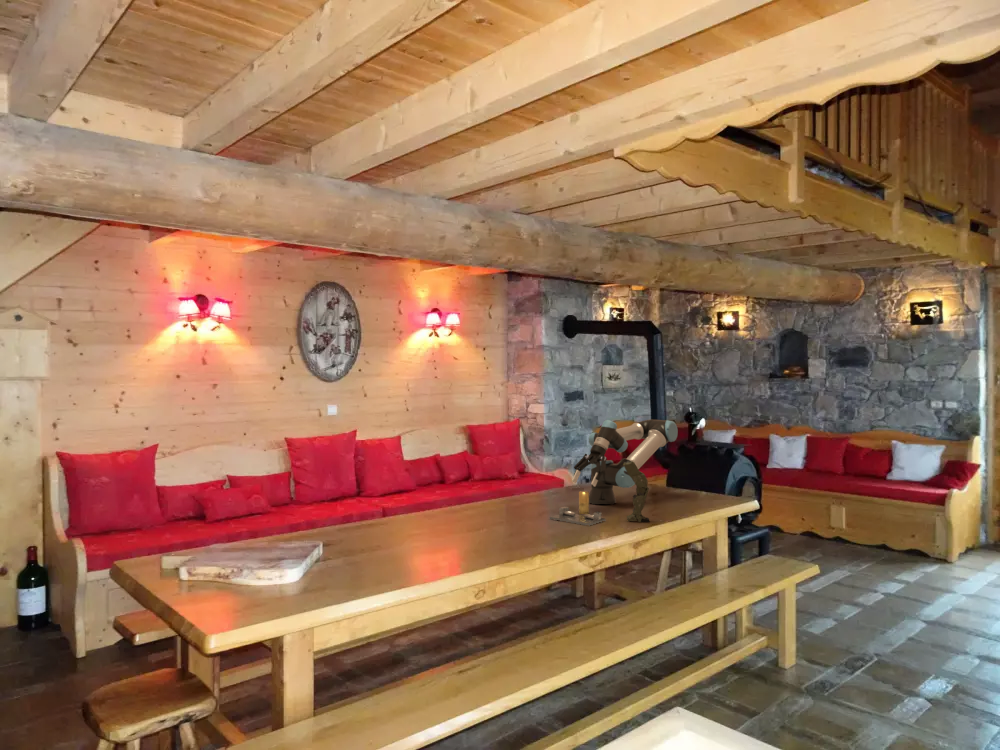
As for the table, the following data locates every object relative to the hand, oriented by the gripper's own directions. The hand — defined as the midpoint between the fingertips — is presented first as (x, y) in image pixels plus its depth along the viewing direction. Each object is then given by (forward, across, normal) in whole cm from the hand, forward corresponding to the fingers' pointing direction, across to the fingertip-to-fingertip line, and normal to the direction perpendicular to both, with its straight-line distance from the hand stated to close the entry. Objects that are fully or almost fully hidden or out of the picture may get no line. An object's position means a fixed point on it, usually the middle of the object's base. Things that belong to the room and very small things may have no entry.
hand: (583, 483), depth 360 cm
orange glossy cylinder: (+12, 0, +9) cm, 15 cm away
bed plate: (+20, +10, -3) cm, 23 cm away
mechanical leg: (+9, +28, +15) cm, 33 cm away
